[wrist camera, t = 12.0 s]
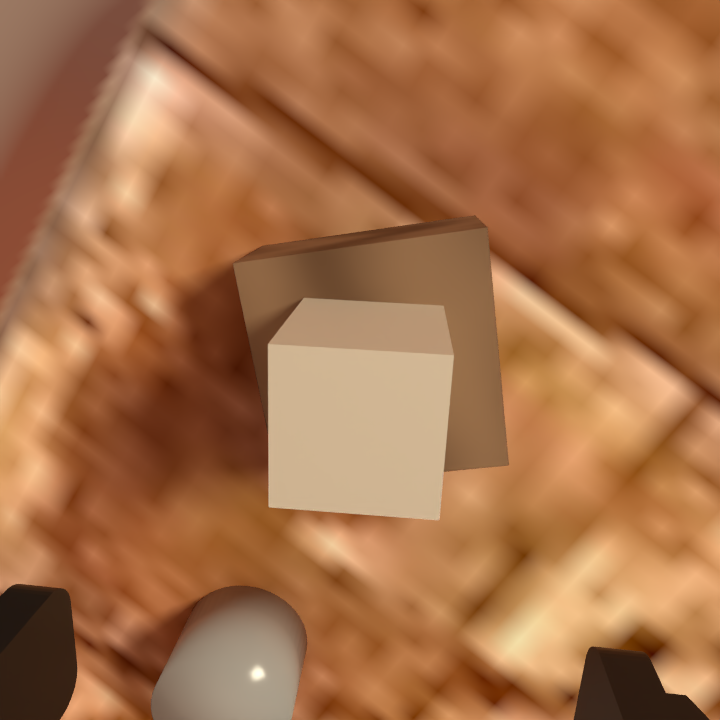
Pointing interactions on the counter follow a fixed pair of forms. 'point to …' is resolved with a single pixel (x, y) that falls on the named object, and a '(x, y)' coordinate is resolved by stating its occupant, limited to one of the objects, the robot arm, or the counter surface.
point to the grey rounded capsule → (234, 660)
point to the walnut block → (396, 285)
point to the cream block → (359, 408)
